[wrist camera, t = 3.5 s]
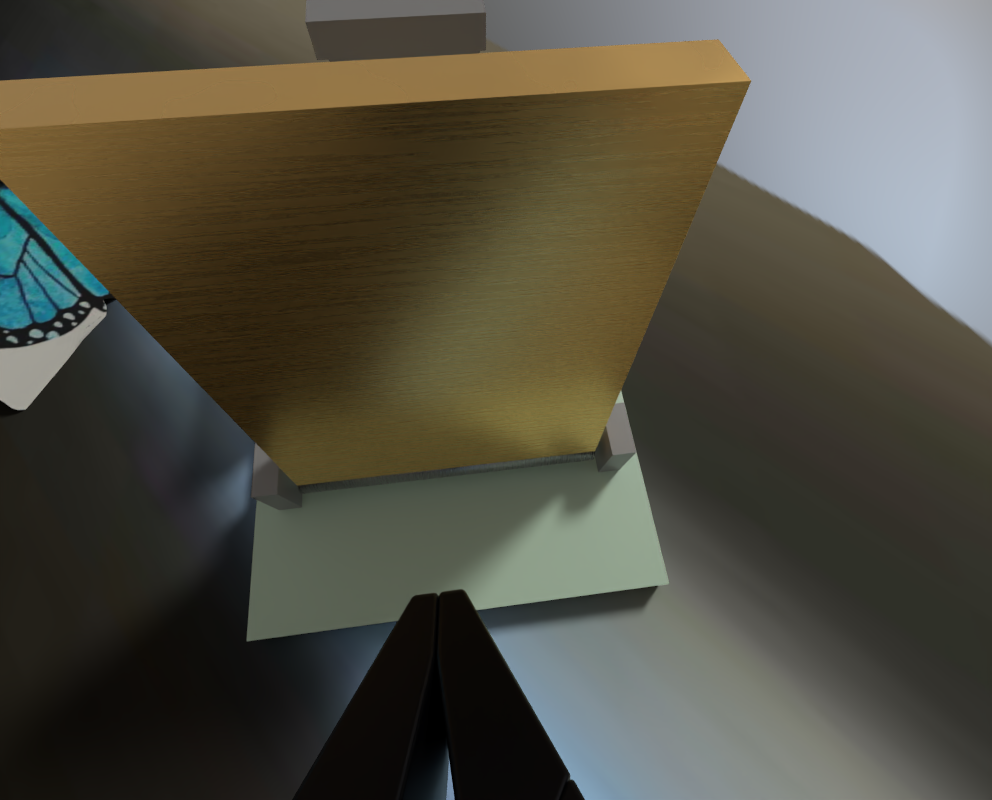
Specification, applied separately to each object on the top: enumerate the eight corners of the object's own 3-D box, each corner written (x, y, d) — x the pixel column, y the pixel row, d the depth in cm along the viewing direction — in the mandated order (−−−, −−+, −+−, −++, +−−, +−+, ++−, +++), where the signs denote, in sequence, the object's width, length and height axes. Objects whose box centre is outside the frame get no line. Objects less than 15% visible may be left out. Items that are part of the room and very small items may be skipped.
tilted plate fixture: (659, 584, 17) (868, 560, 8) (260, 639, 16) (-47, 684, 7) (560, 178, 25) (606, -79, 16) (287, 198, 24) (160, -62, 15)
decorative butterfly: (185, 175, 20) (-114, 302, 14) (230, 292, 25) (23, 419, 19) (29, 82, 22) (-289, 161, 16) (100, 208, 27) (-121, 302, 21)
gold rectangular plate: (590, 466, 17) (754, 84, 6) (307, 499, 17) (-51, 136, 6) (581, 432, 18) (715, 36, 7) (310, 462, 17) (-2, 77, 6)
